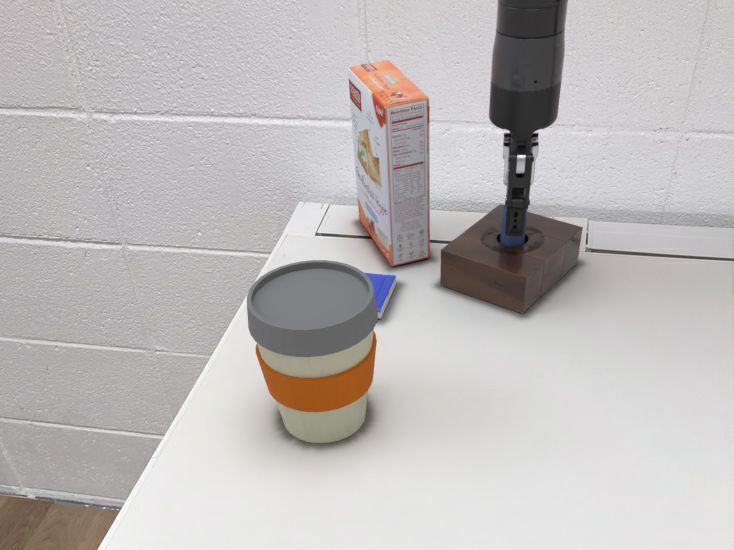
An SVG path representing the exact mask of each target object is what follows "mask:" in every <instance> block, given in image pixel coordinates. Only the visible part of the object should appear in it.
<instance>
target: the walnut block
mask: <svg viewBox="0 0 734 550" xmlns="http://www.w3.org/2000/svg"><path fill="white" fill-rule="evenodd" d="M504 205H505V204H502V203H499V204H498V205H497V206H495V207H494V208H493V209H492V210H490V211H489V212H487V214H485V215H484V216H483V217H481V218H480V219H479V220H478V221H476V222H474V224H472V225H471V226H470V227H468V228H467V229H466V230H465V231H463V232H461V234H459V235H458V236H457V237H456V238H454V239H453V240H452V241H450V242H449V243H447V244H446V245H445V246H444V247H443V248H442V249H440V280H439V281H440V286H442V287H444V288H447V289H450V290H453V291H456V292H459V293H462V294H464V295H467V296H469V297H473V298H474V299H475V298H476V299H479V300H481V301H484V302H487V303H490V304H493V305H496V306H499V307H501V308H504V309H507V310H510V311H513V312H516V313H518V314H522V315H523V314H524V313H526V312H527V311H528V310H529V309H530V308H531V307H532V306H533V305H535V303H536V302H537V301H538V300H539V299H541V298H542V297H543V296H544V295H545V294H546V293H547V292H549V290H550V289H551V288H553V286H555V285H556V284H557V282H559V281H560V280H561V279H562V278H563V277H564V276H565V275H567V273H568V272H570V270H572V269H573V268H574V267H575V266H576V265H577V264H578V262H579V255H580V248H581V243H582V242H581V241H582V236H583V228H584V227H583V226H579V225H577V224H573V223H570V222H565V221H563V220H558V219H555V218H553V217H549V216H544V215H541V214H538V213H533V212H531V211H527V220H526V230H525V241H524V245H521V246H515V247H512V246H505V245H501V244H500V235H501V221H502V208H503V206H504Z"/></svg>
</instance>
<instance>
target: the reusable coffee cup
mask: <svg viewBox="0 0 734 550" xmlns="http://www.w3.org/2000/svg"><path fill="white" fill-rule="evenodd" d="M365 273H366V272H364V271H363V270H362V269H359V268H358V267H356V266H354V265H350V264H348V263H345V262H339V261H335V260H326V259H312V260H301V261H297V262H296V261H295V262H291V263H288V264H284V265H281V266H278V267H276V268H274V269H271V270H270V271H268V272H266V273H265V274H263V275H261V276H260V277H259V278H258V279H257V280H255V281H254V282H253V284H252V285H251V287H250V288H249V289H248V292H247V295H246V311H247V312H246V313H247V326H248V331H249V334H250V337H252V338H253V340H254V341H255V342H256V344H255V356H256V358H257V361H258V363H259V366H260V369H261V372H262V376H263V379H264V380H265V384H266V388H267V390H268V393H269V395H270V396H271V397H272V399H274V400H275V402H276V405H277V407H278V410H279V413H280V417H281V419H282V422H283V425H284V428H285V430H287V432H288V433H289V434H290V435H291V436H292V437H294V438H296V439H298V440H301V441H304V442H306V443H311V444H329V443H330V444H331V443H334V442H339V441H341V440H345V439H346V438H349V437H350V436H352V435H354V434H355V433H356V432H357V431H359V430H360V429H361V427H362V426H363V424H364V423H365V420H366V416H367V407H368V406H367V405H368V395H369V394H368V393H369V390H370V388H371V386H372V384H373V381H374V374H375V365H376V364H375V362H376V353H377V334H376V333H375V330H374V329H375V327H376V325H377V323H378V319H379V318H378V312H377V306H376V300H375V295H374V289H373V284H372V282H371V280H370V278H369V277H368V276H367V275H366V274H365Z"/></svg>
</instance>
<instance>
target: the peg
mask: <svg viewBox="0 0 734 550" xmlns="http://www.w3.org/2000/svg"><path fill="white" fill-rule="evenodd" d="M503 205H504V206H503V208H502V221H501V235H500V244H501V245H505V246H512V247H515V246H521V245H524V241H525V230H526V220H527V212H528V210H529V207H528V208H526V216H525V227H524V234H523V235H522V236H507V235H506V234H505V223H506V210H507V208H506V205H505V204H503Z"/></svg>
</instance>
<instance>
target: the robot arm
mask: <svg viewBox="0 0 734 550" xmlns="http://www.w3.org/2000/svg"><path fill="white" fill-rule="evenodd" d="M496 4H497V6H496V21H495V22H496V23H495V24H496V25H495V35H494V41H493V46H492V54H491V68H490V69H491V72H490V89H489V105H488V107H489V108H488V118H489V121H490V123H491V124H492V125H493V126H495V127H496V128H499V129H501V130H506V131H508V132H503V141H502V159H503V160H504V163H503V176H502V177H503V179H502V183H503V185H504V186H506V191H505V198H504V205H506V208H507V210H506V223H505V234H506V235H507V236H522V235H523V234H524V227H525V216H526V208H528V209H529V206H530V205H531V200H530V192H531V186H532V185H533V184H534V182H535V173H536V171H535V170H536V161H537V159H538V156H539V148H540V147H539V146H540V142H539V136H540V135H539V132H537V131H540V130H544V129H546V128H547V129H548V128H549V127H550V126H552V125H553V124H554V123H555V122H556V121H557V118H558V115H559V106H560V97H561V89H562V80H563V72H564V64H565V63H564V62H565V54H566V53H565V52H566V40H565V39H566V38H565V36H566V35H565V33H566V21H567V12H568V5H569V0H497V3H496Z"/></svg>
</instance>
